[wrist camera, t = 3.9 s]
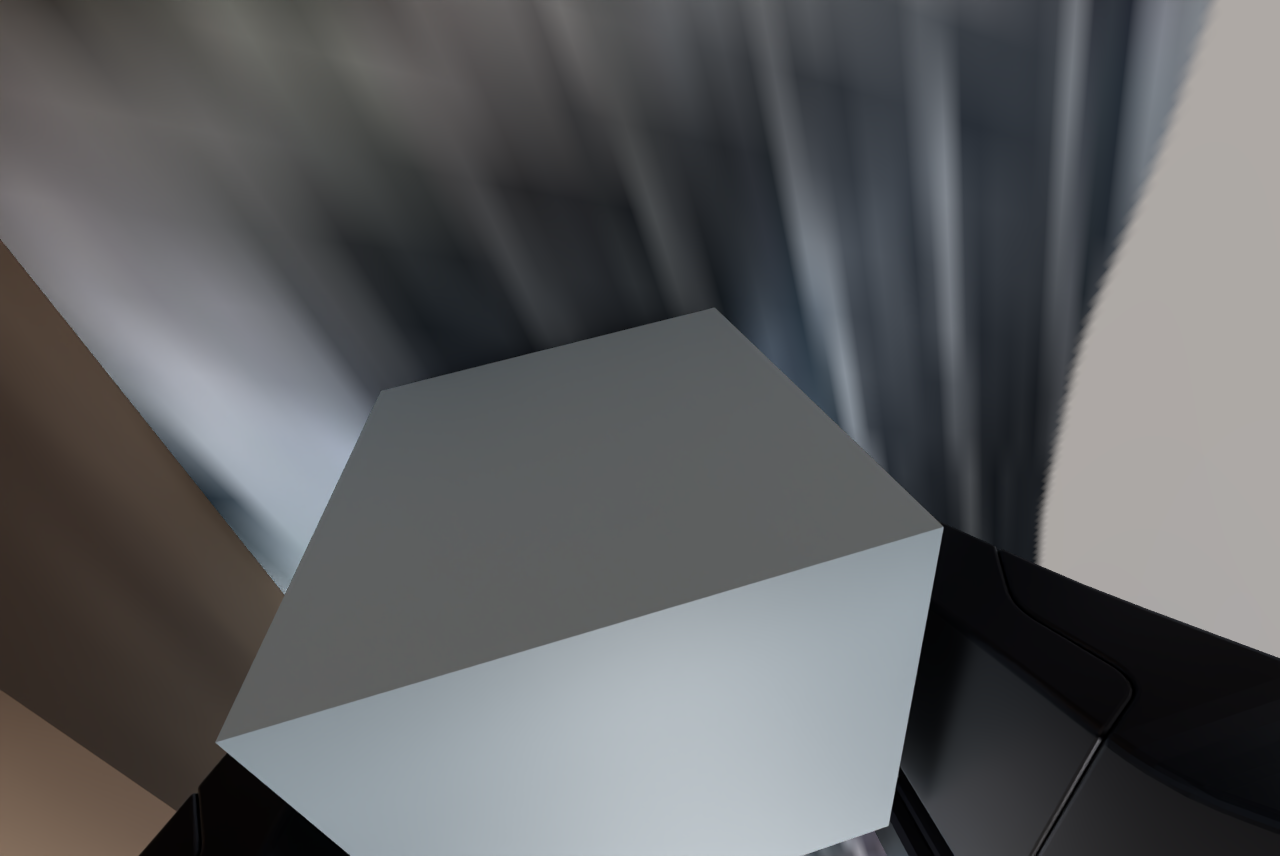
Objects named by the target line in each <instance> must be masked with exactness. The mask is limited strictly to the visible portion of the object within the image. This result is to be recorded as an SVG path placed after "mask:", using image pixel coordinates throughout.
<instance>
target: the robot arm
mask: <svg viewBox="0 0 1280 856" xmlns="http://www.w3.org/2000/svg"><path fill="white" fill-rule="evenodd" d="M938 522H939V523H940V524H941V525H942V526H943V527H944V528H943V533H942V539H941V544H940V550H939V555H938V561H937V566H936V571H935V577H934V582H933V588H932V593H931V598H930V604H929V609H928V615H927V620H926V626H925V631H924V636H923V642H922V647H921V653H920V658H919V664H918V669H917V674H916V680H915V685H914V691H913V696H912V701H911V707H910V712H909V718H908V723H907V729H906V734H905V739H904V745H903V750H902V756H901V761H900V766H899V772H898V777H897V783H896V788H895V794H894V799H893V804H892V810H891V815H890V821H889V826H887V827H884V828H881V829H878V830H875V832H876V834H877V836H878V838H879V840H880V842H881V844H882V846H883V848H884V850H885V852H886V854H887V856H1280V658H1278V657H1275V656H1272V655H1270V654H1267V653H1264V652H1262V651H1259V650H1256V649H1253V648H1250V647H1248V646H1245V645H1242V644H1240V643H1237V642H1235V641H1232V640H1229V639H1227V638H1224V637H1221V636H1218V635H1215V634H1213V633H1210V632H1208V631H1205V630H1202V629H1200V628H1197V627H1194V626H1191V625H1189V624H1186V623H1183V622H1181V621H1178V620H1175V619H1173V618H1170V617H1167V616H1164V615H1162V614H1159V613H1156V612H1154V611H1151V610H1148V609H1146V608H1143V607H1141V606H1138V605H1135V604H1133V603H1130V602H1128V601H1125V600H1122V599H1120V598H1117V597H1115V596H1112V595H1110V594H1107V593H1104V592H1102V591H1099V590H1097V589H1094V588H1092V587H1089V586H1086V585H1084V584H1081V583H1079V582H1077V581H1074V580H1072V579H1070V578H1067V577H1065V576H1062V575H1060V574H1058V573H1056V572H1053V571H1051V570H1049V569H1046V568H1044V567H1041V566H1039V565H1037V564H1034V563H1032V562H1030V561H1028V560H1025V559H1023V558H1021V557H1019V556H1016V555H1014V554H1012V553H1010V552H1007V551H1005V550H1002V549H1001V550H998V551H997V548H996V547H995V546H993V545H991V544H989V543H987V542H985V541H982V540H980V539H978V538H976V537H973V536H971V535H969V534H967V533H964V532H962V531H960V530H958V529H955V528H953V527H951V526H949V525H946V524H944V523H942V522H940V521H938ZM138 856H350V855H349V854H348V853H347V852H345V851H344V850H343V849H342V848H341V847H339V846H338V845H337V844H336V843H335V842H333V841H332V840H331V839H330V838H329V837H328V836H326V835H325V834H324V833H323V832H322V831H320V830H319V829H318V828H317V827H316V826H314V825H313V824H312V823H311V822H310V821H308V820H307V819H306V818H305V817H304V816H302V815H301V814H300V813H299V812H298V811H296V810H295V809H294V808H293V807H292V806H290V805H289V804H288V803H287V802H286V801H284V800H283V799H282V798H281V797H280V796H278V795H277V794H276V793H275V792H274V791H273V790H271V789H270V788H269V787H268V786H267V785H265V784H264V783H263V782H262V781H261V780H259V779H258V778H257V777H256V776H255V775H253V774H252V773H251V772H250V771H249V770H247V769H246V768H245V767H244V766H243V765H241V764H240V763H239V762H238V761H237V760H235V759H234V758H233V757H232V756H231V755H229V754H228V753H226V754H225V756H224V757H223V758H222V759H221V760H220V761H219V763H218V764H217V765H216V766H215V767H214V768H213V770H212V771H211V772H210V773H209V774H208V776H207V777H206V778H205V779H204V780H203V781H202V783H201V784H200V785H199V787H198V793H194V794H192V795H190V796H189V798H188V799H187V800H186V801H185V802H184V803H183V805H182V806H181V807H180V808H179V809H178V810H177V812H176V813H175V814H174V815H173V816H172V817H171V819H170V820H169V821H168V822H167V823H166V825H165V826H164V827H163V828H162V829H161V830H160V832H159V833H158V834H157V835H156V836H155V837H154V838H153V840H152V841H151V842H150V843H149V844H148V845H147V846H146V847H145V849H144V850H143V851H142V852H141V853H140V854H139V855H138Z"/></svg>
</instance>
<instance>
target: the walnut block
mask: <svg viewBox="0 0 1280 856" xmlns="http://www.w3.org/2000/svg"><path fill="white" fill-rule="evenodd" d="M283 598H284V594H283V593H282V591H281V590H280V589H279V588H278V586H277V585H276V584H275V583H274V581H273V580H272V579H271V578H270V576H269V575H268V574H267V573H266V571H265V570H264V569H263V568H262V566H261V565H260V564H259V563H258V561H257V560H256V559H255V558H254V556H253V555H252V554H251V553H250V551H249V550H248V549H247V547H246V546H245V545H244V544H243V542H242V541H241V540H240V539H239V537H238V536H237V535H236V534H235V532H234V531H233V530H232V529H231V527H230V526H229V525H228V524H227V522H226V521H225V520H224V519H223V517H222V516H221V515H220V514H219V512H218V511H217V510H216V509H215V507H214V506H213V505H212V504H211V502H210V501H209V500H208V499H207V497H206V496H205V495H204V494H203V492H202V491H201V490H200V489H199V487H198V486H197V485H196V484H195V482H194V481H193V480H192V479H191V477H190V476H189V475H188V474H187V472H186V471H185V470H184V469H183V467H182V466H181V465H180V464H179V462H178V461H177V460H176V459H175V457H174V456H173V455H172V454H171V452H170V451H169V450H168V449H167V447H166V446H165V445H164V444H163V442H162V441H161V440H160V439H159V437H158V436H157V435H156V434H155V432H154V431H153V430H152V429H151V427H150V426H149V425H148V424H147V422H146V421H145V420H144V419H143V417H142V416H141V415H140V413H139V412H138V411H137V410H136V408H135V407H134V406H133V405H132V403H131V402H130V401H129V400H128V398H127V397H126V396H125V395H124V393H123V392H122V391H121V390H120V388H119V387H118V386H117V385H116V383H115V382H114V381H113V380H112V378H111V377H110V376H109V375H108V373H107V372H106V371H105V370H104V368H103V367H102V366H101V365H100V363H99V362H98V361H97V360H96V358H95V357H94V356H93V355H92V353H91V352H90V351H89V350H88V348H87V347H86V346H85V345H84V343H83V342H82V341H81V340H80V338H79V337H78V336H77V335H76V333H75V332H74V331H73V330H72V328H71V327H70V326H69V325H68V323H67V322H66V321H65V320H64V318H63V317H62V316H61V315H60V313H59V312H58V311H57V310H56V308H55V307H54V306H53V305H52V303H51V302H50V301H49V300H48V298H47V297H46V296H45V295H44V293H43V292H42V291H41V290H40V288H39V287H38V286H37V285H36V283H35V282H34V281H33V279H32V278H31V277H30V276H29V274H28V273H27V272H26V271H25V269H24V268H23V267H22V266H21V264H20V263H19V262H18V261H17V259H16V258H15V257H14V256H13V254H12V253H11V252H10V251H9V249H8V248H7V247H6V246H5V244H4V243H3V242H2V241H1V239H0V856H138V855H139V854H140V853H141V852H142V851H143V850H144V849H145V847H146V846H147V845H148V844H149V843H150V842H151V841H152V840H153V838H154V837H155V836H156V835H157V834H158V833H159V832H160V830H161V829H162V828H163V827H164V826H165V825H166V823H167V822H168V821H169V820H170V819H171V817H172V816H173V815H174V814H175V813H176V812H177V810H178V809H179V808H180V807H181V806H182V805H183V803H184V802H185V801H186V800H187V799H188V798H189V796H190V795H192V794H194V793H198V787H199V785H200V784H201V783H202V781H203V780H204V779H205V778H206V777H207V776H208V774H209V773H210V772H211V771H212V770H213V768H214V767H215V766H216V765H217V764H218V763H219V761H220V760H221V759H222V758H223V757H224V756H225V754H226V753H227V752H226V751H225V750H223V749H222V748H221V747H220V746H219V745H218V744H216V743H215V742H216V740H217V738H218V735H219V733H220V731H221V729H222V727H223V725H224V723H225V721H226V718H227V716H228V714H229V712H230V710H231V708H232V706H233V704H234V701H235V699H236V697H237V695H238V693H239V691H240V689H241V687H242V684H243V682H244V680H245V678H246V676H247V674H248V672H249V670H250V668H251V665H252V663H253V661H254V659H255V657H256V655H257V653H258V651H259V648H260V646H261V644H262V642H263V640H264V638H265V636H266V634H267V631H268V629H269V627H270V625H271V623H272V621H273V619H274V617H275V614H276V612H277V610H278V608H279V606H280V604H281V602H282V600H283Z"/></svg>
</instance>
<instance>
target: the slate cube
mask: <svg viewBox="0 0 1280 856" xmlns="http://www.w3.org/2000/svg"><path fill="white" fill-rule="evenodd" d="M943 528H944V527H943V526H942V525H941V524H940V523H939V522H938V521H937V520H936V519H935V518H934V517H933V516H932V515H931V514H930V513H929V512H928V511H927V510H926V509H925V508H923V507H922V506H921V505H920V504H919V503H918V502H917V501H916V500H915V499H914V498H913V497H912V496H911V495H910V494H909V493H908V492H907V491H906V490H905V489H904V488H903V487H902V486H901V485H899V484H898V483H897V482H896V481H895V480H894V479H893V478H892V477H891V476H890V475H889V474H888V473H887V472H886V471H885V470H884V469H883V468H882V467H881V466H880V465H879V464H878V463H876V462H875V461H874V460H873V459H872V458H871V457H870V456H869V455H868V454H867V453H866V452H865V451H864V450H863V449H862V448H861V447H860V446H859V445H858V444H857V443H856V442H855V441H854V440H853V439H851V438H850V437H849V436H848V435H847V434H846V433H845V432H844V431H843V430H842V429H841V428H840V427H839V426H838V425H837V424H836V423H835V422H834V421H833V420H832V419H831V418H830V417H828V416H827V415H826V414H825V413H824V412H823V411H822V410H821V409H820V408H819V407H818V406H817V405H816V404H815V403H814V402H813V401H812V400H811V399H810V398H809V397H808V396H807V395H806V394H804V393H803V392H802V391H801V390H800V389H799V388H798V387H797V386H796V385H795V384H794V383H793V382H792V381H791V380H790V379H789V378H788V377H787V376H786V375H785V374H784V373H783V372H782V371H780V370H779V369H778V368H777V367H776V366H775V365H774V364H773V363H772V362H771V361H770V360H769V359H768V358H767V357H766V356H765V355H764V354H763V353H762V352H761V351H760V350H759V349H758V348H756V347H755V346H754V345H753V344H752V343H751V342H750V341H749V340H748V339H747V338H746V337H745V336H744V335H743V334H742V333H741V332H740V331H739V330H738V329H737V328H736V327H735V326H734V325H732V324H731V323H730V322H729V321H728V320H727V319H726V318H725V317H724V316H723V315H722V314H721V313H720V312H719V311H718V310H717V309H716V308H711V309H707V310H703V311H699V312H695V313H691V314H687V315H683V316H679V317H675V318H671V319H667V320H663V321H659V322H655V323H651V324H647V325H643V326H639V327H635V328H631V329H626V330H622V331H618V332H614V333H610V334H606V335H602V336H598V337H594V338H590V339H586V340H582V341H578V342H574V343H570V344H566V345H562V346H558V347H554V348H550V349H546V350H542V351H538V352H534V353H530V354H526V355H522V356H518V357H514V358H510V359H506V360H502V361H498V362H494V363H490V364H486V365H482V366H478V367H474V368H470V369H466V370H462V371H458V372H454V373H450V374H446V375H442V376H438V377H434V378H430V379H426V380H422V381H418V382H414V383H410V384H406V385H402V386H398V387H394V388H390V389H386V390H382V391H381V392H380V394H379V396H378V398H377V400H376V402H375V404H374V407H373V409H372V411H371V413H370V415H369V417H368V419H367V421H366V424H365V426H364V428H363V430H362V432H361V434H360V436H359V438H358V441H357V443H356V445H355V447H354V449H353V451H352V453H351V455H350V458H349V460H348V462H347V464H346V466H345V468H344V470H343V472H342V474H341V477H340V479H339V481H338V483H337V485H336V487H335V489H334V491H333V494H332V496H331V498H330V500H329V502H328V504H327V506H326V508H325V511H324V513H323V515H322V517H321V519H320V521H319V523H318V525H317V528H316V530H315V532H314V534H313V536H312V538H311V540H310V542H309V544H308V547H307V549H306V551H305V553H304V555H303V557H302V559H301V561H300V564H299V566H298V568H297V570H296V572H295V574H294V576H293V578H292V581H291V583H290V585H289V587H288V589H287V591H286V593H285V595H284V598H283V600H282V602H281V604H280V606H279V608H278V610H277V612H276V614H275V617H274V619H273V621H272V623H271V625H270V627H269V629H268V631H267V634H266V636H265V638H264V640H263V642H262V644H261V646H260V648H259V651H258V653H257V655H256V657H255V659H254V661H253V663H252V665H251V668H250V670H249V672H248V674H247V676H246V678H245V680H244V682H243V684H242V687H241V689H240V691H239V693H238V695H237V697H236V699H235V701H234V704H233V706H232V708H231V710H230V712H229V714H228V716H227V718H226V721H225V723H224V725H223V727H222V729H221V731H220V733H219V735H218V738H217V740H216V742H215V743H216V744H218V745H219V746H220V747H221V748H222V749H223V750H225V751H226V752H227V753H228V754H229V755H231V756H232V757H233V758H234V759H235V760H237V761H238V762H239V763H240V764H241V765H243V766H244V767H245V768H246V769H247V770H249V771H250V772H251V773H252V774H253V775H255V776H256V777H257V778H258V779H259V780H261V781H262V782H263V783H264V784H265V785H267V786H268V787H269V788H270V789H271V790H273V791H274V792H275V793H276V794H277V795H278V796H280V797H281V798H282V799H283V800H284V801H286V802H287V803H288V804H289V805H290V806H292V807H293V808H294V809H295V810H296V811H298V812H299V813H300V814H301V815H302V816H304V817H305V818H306V819H307V820H308V821H310V822H311V823H312V824H313V825H314V826H316V827H317V828H318V829H319V830H320V831H322V832H323V833H324V834H325V835H326V836H328V837H329V838H330V839H331V840H332V841H333V842H335V843H336V844H337V845H338V846H339V847H341V848H342V849H343V850H344V851H345V852H347V853H348V854H349V855H350V856H802V855H805V854H808V853H811V852H814V851H817V850H820V849H823V848H826V847H828V846H831V845H834V844H837V843H840V842H843V841H846V840H849V839H852V838H855V837H858V836H861V835H863V834H866V833H869V832H872V831H875V830H878V829H881V828H884V827H887V826H889V821H890V815H891V810H892V804H893V799H894V794H895V788H896V783H897V777H898V772H899V766H900V761H901V756H902V750H903V745H904V739H905V734H906V729H907V723H908V718H909V712H910V707H911V701H912V696H913V691H914V685H915V680H916V674H917V669H918V664H919V658H920V653H921V647H922V642H923V636H924V631H925V626H926V620H927V615H928V609H929V604H930V598H931V593H932V588H933V582H934V577H935V571H936V566H937V561H938V555H939V550H940V544H941V539H942V533H943Z"/></svg>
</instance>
